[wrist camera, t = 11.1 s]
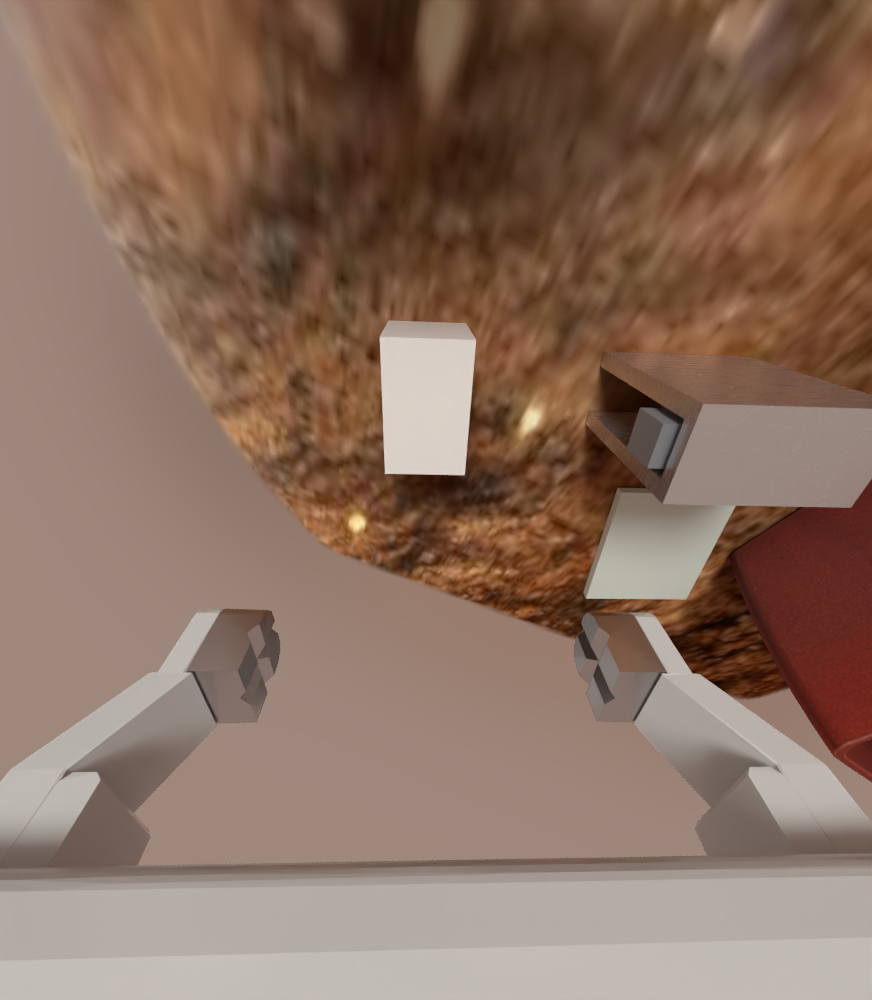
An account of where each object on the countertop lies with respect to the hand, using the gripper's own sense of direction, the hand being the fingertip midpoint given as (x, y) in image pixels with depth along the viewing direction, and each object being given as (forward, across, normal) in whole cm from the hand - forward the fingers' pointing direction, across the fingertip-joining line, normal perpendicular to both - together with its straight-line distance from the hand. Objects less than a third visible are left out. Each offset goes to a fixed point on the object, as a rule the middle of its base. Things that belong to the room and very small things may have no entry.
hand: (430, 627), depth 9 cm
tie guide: (+21, -17, 0) cm, 27 cm away
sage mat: (+21, -21, +14) cm, 33 cm away
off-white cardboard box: (+21, 0, 0) cm, 21 cm away
